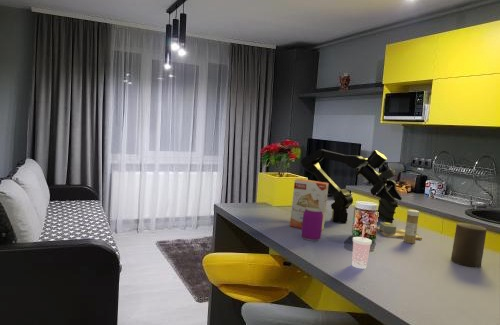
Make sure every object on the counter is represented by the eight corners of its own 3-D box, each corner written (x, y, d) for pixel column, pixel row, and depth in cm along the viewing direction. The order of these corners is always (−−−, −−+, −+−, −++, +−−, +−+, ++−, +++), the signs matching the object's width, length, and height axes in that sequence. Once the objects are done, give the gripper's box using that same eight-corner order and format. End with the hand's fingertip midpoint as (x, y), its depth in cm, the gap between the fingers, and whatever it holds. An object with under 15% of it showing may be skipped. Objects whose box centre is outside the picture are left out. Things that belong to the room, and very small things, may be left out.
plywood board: (384, 236, 171) (384, 234, 171) (376, 229, 183) (376, 227, 183) (421, 240, 170) (422, 237, 170) (411, 232, 182) (411, 230, 182)
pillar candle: (470, 268, 138) (476, 226, 136) (445, 259, 146) (451, 219, 145) (487, 266, 142) (493, 225, 141) (461, 257, 151) (467, 218, 149)
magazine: (379, 213, 212) (389, 190, 205) (390, 229, 201) (400, 206, 193) (373, 212, 211) (382, 189, 204) (383, 229, 200) (393, 205, 193)
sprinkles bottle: (409, 240, 169) (413, 209, 167) (417, 243, 165) (421, 211, 163) (401, 240, 167) (405, 209, 165) (409, 244, 163) (413, 211, 161)
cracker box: (289, 226, 174) (294, 179, 172) (293, 223, 180) (297, 178, 177) (321, 232, 169) (326, 183, 167) (324, 229, 174) (329, 182, 172)
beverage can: (298, 238, 157) (301, 208, 155) (304, 234, 163) (307, 205, 162) (316, 242, 153) (320, 212, 152) (323, 238, 160) (326, 209, 159)
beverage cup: (365, 271, 127) (370, 228, 125) (347, 266, 130) (351, 224, 129) (371, 266, 132) (376, 224, 131) (352, 261, 135) (357, 221, 134)
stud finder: (383, 232, 173) (384, 225, 173) (379, 228, 180) (380, 221, 180) (395, 233, 173) (396, 226, 173) (390, 229, 180) (391, 222, 180)
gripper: (376, 163, 170) (404, 189, 163) (390, 162, 185) (416, 186, 178) (359, 182, 175) (385, 208, 168) (374, 179, 189) (399, 203, 183)
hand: (397, 200), depth 174 cm, fingers open, 9 cm apart
